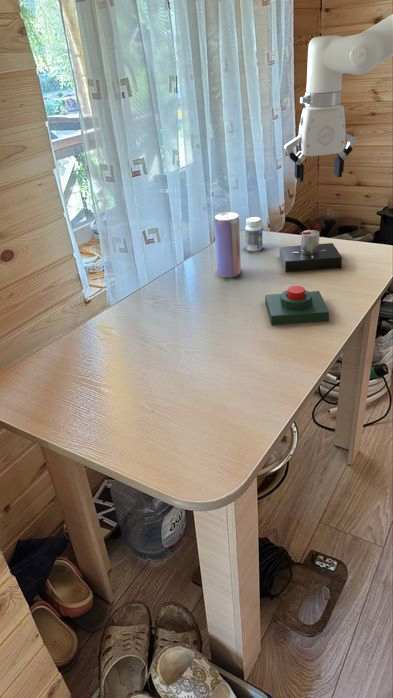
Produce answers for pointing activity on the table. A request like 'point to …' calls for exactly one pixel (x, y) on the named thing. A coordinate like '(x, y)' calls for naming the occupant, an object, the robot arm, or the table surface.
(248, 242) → the pill bottle
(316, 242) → the knob
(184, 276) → the table surface
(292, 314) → the button block
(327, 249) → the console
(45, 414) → the table surface
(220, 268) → the beverage can
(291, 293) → the button
